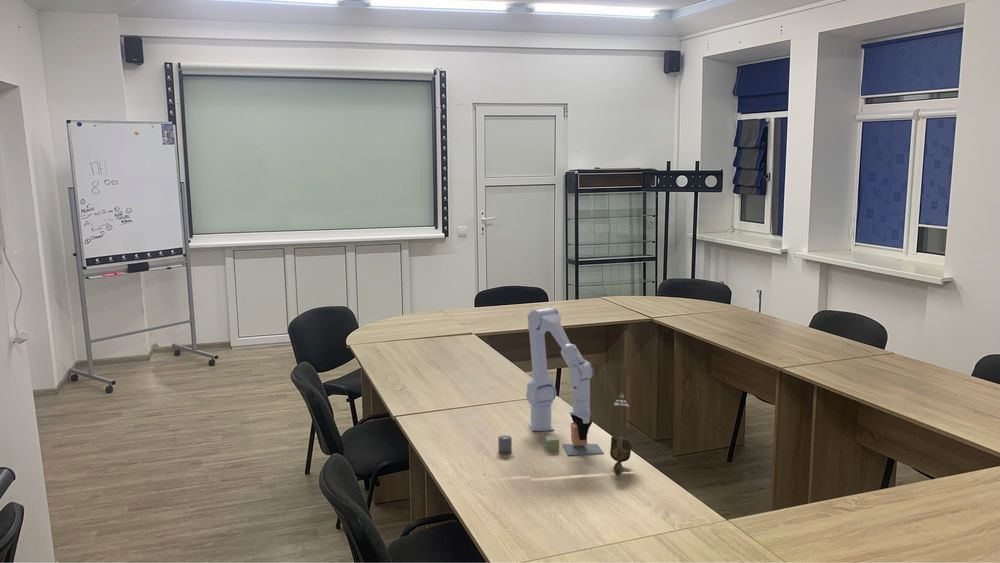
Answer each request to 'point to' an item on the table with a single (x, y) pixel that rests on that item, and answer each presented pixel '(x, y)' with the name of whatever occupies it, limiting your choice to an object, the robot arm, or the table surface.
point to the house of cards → (621, 402)
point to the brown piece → (620, 452)
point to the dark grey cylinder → (505, 444)
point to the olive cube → (552, 443)
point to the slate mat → (582, 449)
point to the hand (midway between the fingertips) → (580, 437)
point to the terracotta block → (576, 436)
